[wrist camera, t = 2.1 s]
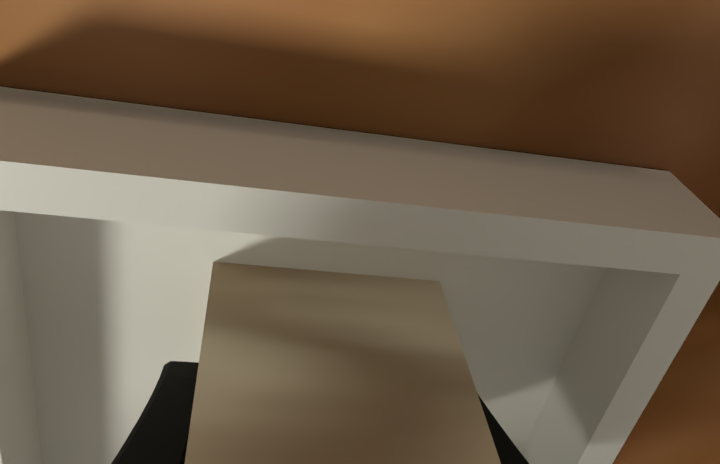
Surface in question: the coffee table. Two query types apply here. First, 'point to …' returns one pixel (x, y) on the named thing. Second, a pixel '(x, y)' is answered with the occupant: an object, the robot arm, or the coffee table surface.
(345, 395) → the birch block
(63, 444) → the tray
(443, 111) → the coffee table surface
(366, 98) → the coffee table surface
